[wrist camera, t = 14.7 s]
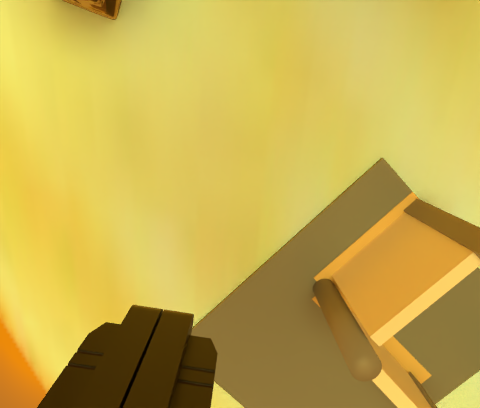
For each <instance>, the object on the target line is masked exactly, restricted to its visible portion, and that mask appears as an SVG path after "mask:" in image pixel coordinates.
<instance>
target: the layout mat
mask: <svg viewBox="0 0 480 408" xmlns="http://www.w3.org/2000/svg"><path fill="white" fill-rule="evenodd" d="M416 199H418V197H417V196H416V195H415V194H414V193H413V192H412V191H411V190H410V189H409V187H408V186H407V185H406V184H405V183H404V182H403V180H402V179H401V178H400V177H399V176H398V175H397V174H396V172H395V171H394V170H393V169H392V168H391V167H390V165H389V164H388V163H387V162H386V161H385V160H384V159H383V158H381V159H380V160H379V161H378V162H376V163H375V164H374V165H373V166H372V167H371V168H370V169H369V170H368V171H366V172H365V173H364V174H363V175H362V176H361V177H360V178H359V179H358V180H356V181H355V182H354V183H353V184H352V185H351V186H350V187H349V188H348V189H346V190H345V191H344V192H343V193H342V194H341V195H340V196H339V197H338V198H336V199H335V200H334V201H333V202H332V203H331V204H330V205H329V206H328V207H326V208H325V209H324V210H323V211H322V212H321V213H320V214H319V215H317V216H316V217H315V218H314V219H313V220H312V221H311V222H310V223H309V224H307V225H306V226H305V227H304V228H303V229H302V230H301V231H300V232H299V233H297V234H296V235H295V236H294V237H293V238H292V239H291V240H290V241H289V242H287V243H286V244H285V245H284V246H283V247H282V248H281V249H280V250H279V251H277V252H276V253H275V254H274V255H273V256H272V257H271V258H270V259H269V260H267V261H266V262H265V263H264V264H263V265H262V266H261V267H260V268H259V269H257V270H256V271H255V272H254V273H253V274H252V275H251V276H250V277H248V278H247V279H246V280H245V281H244V282H243V283H242V284H241V285H240V286H238V287H237V288H236V289H235V290H234V291H233V292H232V293H231V294H230V295H228V296H227V297H226V298H225V299H224V300H223V301H222V302H221V303H220V304H218V305H217V306H216V307H215V308H214V309H213V310H212V311H211V312H210V313H208V314H207V315H206V316H205V317H204V318H203V319H202V320H201V321H200V322H198V323H197V324H196V325H195V326H194V327H193V328H192V333H191V335H192V336H199V337H205V338H211V340H212V342H213V344H214V346H215V349H216V351H217V353H218V355H217V362H216V370H215V377H214V381H215V382H216V383H217V384H218V385H219V386H221V387H222V388H223V389H224V390H225V391H226V392H228V393H229V394H230V395H231V396H232V397H233V398H234V399H236V400H237V401H238V402H239V403H240V404H241V405H243V406H244V407H245V408H398V407H397V406H396V405H395V404H394V403H393V402H392V401H391V400H390V399H389V398H388V397H387V396H386V395H385V394H384V393H383V391H382V390H381V389H380V388H379V387H378V386H377V385H376V384H375V383H374V382H373V381H372V380H371V381H366V382H363V381H358V380H356V379H355V378H354V377H353V376H352V375H351V373H350V370H349V368H348V366H347V364H346V362H345V360H344V357H343V355H342V353H341V351H340V349H339V347H338V344H337V342H336V340H335V338H334V336H333V334H332V331H331V329H330V327H329V325H328V323H327V321H326V318H325V316H324V314H323V312H322V310H321V308H320V305H319V303H318V301H317V299H316V297H315V295H314V292H313V286H314V284H315V282H316V281H318V280H320V279H329V280H331V281H332V282H333V283H334V284H335V286H336V288H337V289H338V291H339V293H340V294H341V296H342V298H343V299H344V301H345V303H346V304H347V306H348V308H349V309H350V310H351V311H352V312H353V313H354V314H355V312H354V311H353V309H352V307H351V306H350V304H349V302H348V301H347V299H346V298H345V296H344V294H343V293H342V291H341V290H340V288H339V286H338V285H337V283H336V282H335V280H334V278H333V277H332V275H333V274H334V273H335V272H336V271H338V270H339V269H340V268H341V267H342V266H343V265H345V264H346V263H347V262H348V261H349V260H350V259H352V258H353V257H354V256H355V255H356V254H357V253H358V252H360V251H361V250H362V249H363V248H364V247H365V246H367V245H368V244H369V243H370V242H371V241H372V240H374V239H375V238H376V237H377V236H378V235H379V234H380V233H382V232H383V231H384V230H385V229H386V228H387V227H389V226H390V225H391V224H392V223H393V222H394V221H396V220H397V219H398V218H399V217H400V216H401V215H403V214H404V213H405V212H404V211H403V210H404V209H405V208H407V207H408V206H409V205H410V204H411V203H412V202H413V201H415V200H416ZM355 315H356V314H355ZM356 317H357V315H356ZM357 318H358V317H357ZM382 345H383V346H384V347H385V348H386V350H387V351H388V352H389V353H390V354H391V355H392V356H393V357H394V358H395V359H396V361H397V362H398V363H399V364H400V365H401V366H402V367H403V368H404V369H405V370H406V372H407V373H409V372H411V373H412V374H413V375H414V376H415V378H416V379H417V380H418V381H419V382H420V383H421V385H422V386H423V388H424V389H425V391H426V392H427V393H428V395H429V396H430V398H431V399H432V401H433V402H434V403H435V404H436V403H437V402H439V401H440V400H441V399H443V398H444V397H445V396H446V395H448V394H449V393H450V392H452V391H453V390H454V389H456V388H457V387H458V386H460V385H461V384H462V383H464V382H465V381H466V380H468V379H469V378H470V377H472V376H473V375H474V374H475V373H477V372H478V371H479V370H480V269H479V268H478V267H477V268H476V269H475V270H474V271H472V272H471V273H470V274H469V275H467V276H466V277H465V278H464V279H463V280H461V281H460V282H459V283H458V284H456V285H455V286H454V287H453V288H451V289H450V290H449V291H448V292H446V293H445V294H444V295H443V296H441V297H440V298H439V299H438V300H437V301H435V302H434V303H433V304H432V305H430V306H429V307H428V308H427V309H425V310H424V311H423V312H422V313H420V314H419V315H418V316H417V317H415V318H414V319H413V320H412V321H411V322H409V323H408V324H407V325H406V326H404V327H403V328H402V329H401V330H399V331H398V332H397V333H396V334H394V335H393V336H392V337H391V338H389V339H388V340H387V341H386V342H385V343H383V344H382Z"/></svg>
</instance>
